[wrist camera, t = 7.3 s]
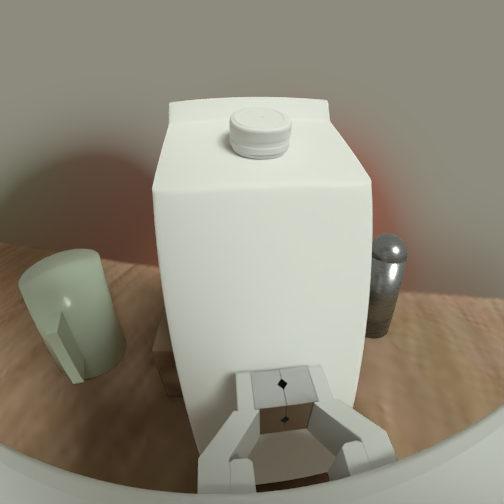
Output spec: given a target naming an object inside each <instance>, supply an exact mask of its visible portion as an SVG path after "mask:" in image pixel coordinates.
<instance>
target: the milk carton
mask: <svg viewBox="0 0 504 504" xmlns="http://www.w3.org/2000/svg"><path fill="white" fill-rule="evenodd" d="M152 191H153V205H154V218H155V231H156V240H157V251H158V259H159V268H160V275H161V283H162V290H163V297H164V303H165V310H166V316H167V321H168V327H169V333H170V338H171V343H172V348H173V353H174V358H175V363H176V368H177V372H178V377H179V381H180V385H181V390H182V394H183V398H184V402H185V406H186V410H187V413H188V417H189V421H190V424H191V428H192V432H193V435H194V438H195V442H196V445H197V448H198V452H199V455H200V456H201V454H202V453H203V452H204V450H205V449H206V448H207V446H208V445H209V444H210V442H211V441H212V440H213V438H214V437H215V436H216V434H217V433H218V432H219V430H220V429H221V428H222V426H223V425H224V423H225V422H226V421H227V419H228V418H229V417H230V415H231V414H232V412H233V411H238V409H237V393H236V373H244V372H250V373H251V372H261V371H275V370H281V369H289V368H297V367H304V366H313V365H319V364H320V365H321V366H322V368H323V371H324V373H325V376H326V379H327V381H328V384H329V387H330V390H331V392H332V395H333V398H334V399H336V398H338V399H340V400H341V401H342V402H344V403H345V404H347V405H348V406H349V407H351V408H352V409H353V404H354V400H355V395H356V390H357V384H358V379H359V373H360V367H361V361H362V355H363V348H364V340H365V333H366V324H367V315H368V305H369V293H370V279H371V261H372V189H371V179H370V178H369V176H368V174H367V173H366V171H365V170H364V168H363V167H362V165H361V164H360V162H359V161H358V159H357V158H356V157H355V155H354V154H353V152H352V151H351V149H350V148H349V147H348V145H347V144H346V143H345V141H344V140H343V138H342V137H341V135H340V134H339V133H338V131H337V130H336V129H335V127H334V126H333V125H332V124H331V122H330V117H329V107H328V101H326V100H318V99H317V100H316V99H303V98H283V97H238V98H237V97H236V98H235V97H234V98H213V99H199V100H189V101H179V102H171V103H169V127H168V130H167V133H166V137H165V140H164V144H163V147H162V151H161V155H160V159H159V163H158V166H157V170H156V174H155V179H154V183H153V187H152ZM248 459H249V460H251V461H252V462H253V470H254V478H255V485H257V484H266V483H273V482H280V481H286V480H292V479H298V478H303V477H308V476H312V475H317V474H321V473H325V472H327V471H328V470H329V468H330V467H331V465H332V463H333V462H334V460H335V459H336V457H335V456H334V455H333V454H332V453H331V452H330V451H329V450H328V449H327V448H326V447H324V446H323V445H322V444H321V443H320V442H319V441H318V440H317V439H316V438H315V437H314V436H313V435H312V434H311V433H310V432H309V431H308V430H307V429H300V430H292V431H284V430H283V432H276V433H268V434H260V436H259V438H258V440H257V442H256V444H255V446H254V447H253V449H252V451H251V453H250V454H249V456H248Z"/></svg>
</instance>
